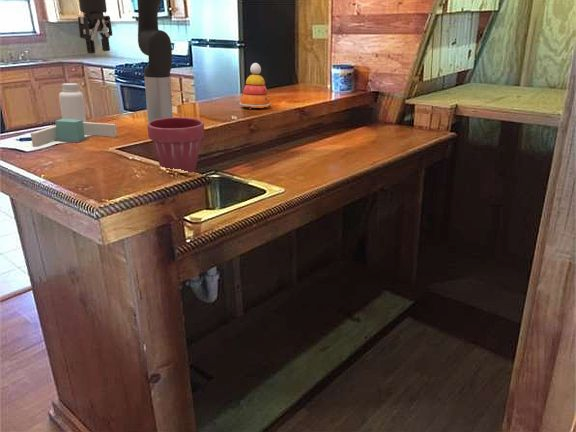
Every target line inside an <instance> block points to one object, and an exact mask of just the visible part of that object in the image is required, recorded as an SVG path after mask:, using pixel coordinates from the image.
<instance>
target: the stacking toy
mask: <svg viewBox="0 0 576 432" xmlns="http://www.w3.org/2000/svg"><path fill="white" fill-rule="evenodd" d="M249 69H250V73H251V74H250V75H249V76H248V77H247V78H246V80H245V86H244V88H243V90H242V91H243V92H242V93H243V94H242V96H241V98H240V102H239V106H240V105H243V106H251V107H257V106H267V105H270V104H271V105H272V103H271V102H270V98H269V96H268V89H267V87H266V81H265V79H264V77H263V76H262V75H260V73H262V67H261V65H260V64H259V63H257V62H253V63H252V64H251V65H250V68H249ZM271 105H270V106H271Z"/></svg>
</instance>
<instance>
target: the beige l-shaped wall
mask: <svg viewBox="0 0 576 432" xmlns="http://www.w3.org/2000/svg"><path fill="white" fill-rule="evenodd" d="M83 127H84V135H85V136H86V135H87V136H96V137H97V136H100V137H109V138H111V137H112V138H116V137H117V136H118V131H117V123H116V124H115V123H105V122H104V123H103V122H90V121H89V122H88V121H86V122H83ZM30 138H31V144H32V147H39V145H40V146H42V144H43V145H45V144H48V143H50V142H55V141H54V140H56V139H58V136H57V129H56V124H55V125H52V126H49V127H46V128H42V129H39V130H36V131H33V132H30Z"/></svg>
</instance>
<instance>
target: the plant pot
mask: <svg viewBox="0 0 576 432" xmlns="http://www.w3.org/2000/svg"><path fill="white" fill-rule="evenodd" d="M204 126H205V125H204V121H203V120H201V119H199V118H192V117H184V116H183V117H180V116H179V117H177V116H176V117H174V116H173V117H172V118H162V119H156V120H153V121H150V122H149V123H148V122H147V134H148V135H147V137H148V139H149V140H151V141H152V143H153V147H154V150H155V151H154V152H155V155H156V157H157V160H158V164H159V166H162V167H165V168H170V169H173V168H174V169H181V170H184V171H188V172H190V173H193V172H195V171H196V169H197V163H198V160H199V154H200V148H201V140H202V139H203V138H204V137H205V127H204Z"/></svg>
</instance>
